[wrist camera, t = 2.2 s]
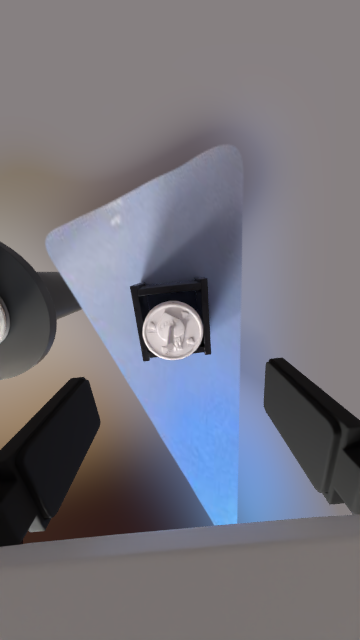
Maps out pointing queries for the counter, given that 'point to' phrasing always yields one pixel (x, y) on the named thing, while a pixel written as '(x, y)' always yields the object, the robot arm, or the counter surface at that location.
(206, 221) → the counter surface
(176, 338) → the smoothie
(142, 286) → the bottle stand
